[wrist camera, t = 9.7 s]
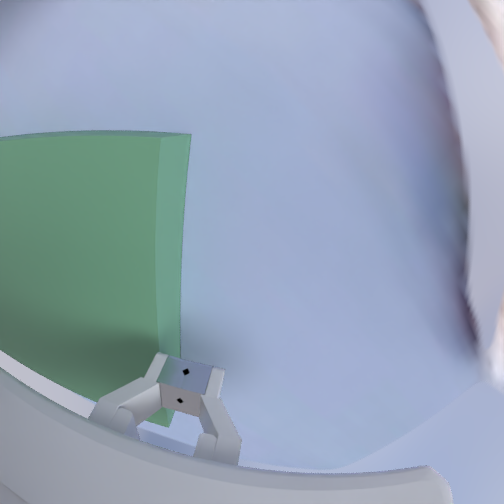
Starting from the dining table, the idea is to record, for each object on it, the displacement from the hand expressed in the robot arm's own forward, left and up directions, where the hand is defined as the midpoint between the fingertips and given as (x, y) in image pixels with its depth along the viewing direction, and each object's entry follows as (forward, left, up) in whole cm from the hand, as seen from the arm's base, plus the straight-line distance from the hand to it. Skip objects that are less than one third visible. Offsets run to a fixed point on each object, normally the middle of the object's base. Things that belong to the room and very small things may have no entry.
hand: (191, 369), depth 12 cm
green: (0, -15, -5) cm, 16 cm away
